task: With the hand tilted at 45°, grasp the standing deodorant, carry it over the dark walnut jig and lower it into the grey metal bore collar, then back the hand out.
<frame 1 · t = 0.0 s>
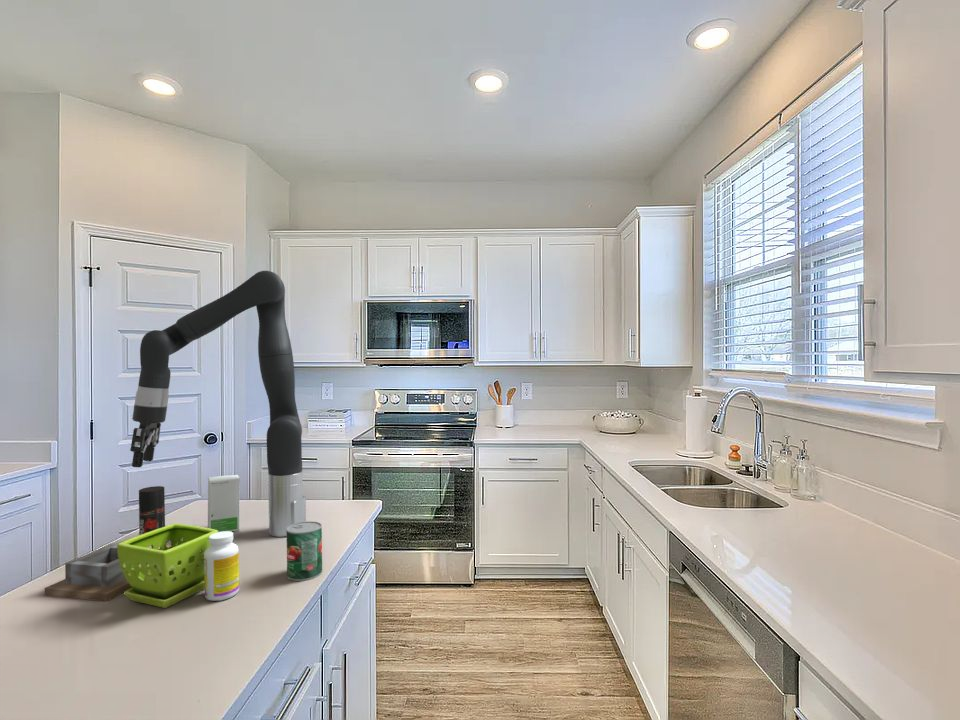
hand: (142, 463, 137), 22 cm above the counter, tool pointing down, fingers open, 8 cm apart
canned tomato: (304, 574, 119), on the counter
deodorant: (152, 544, 139), on the counter
skincare box: (224, 530, 150), on the counter
flower pot: (170, 595, 109), on the counter
jig: (121, 575, 119), on the counter
supplement bottle: (222, 595, 109), on the counter
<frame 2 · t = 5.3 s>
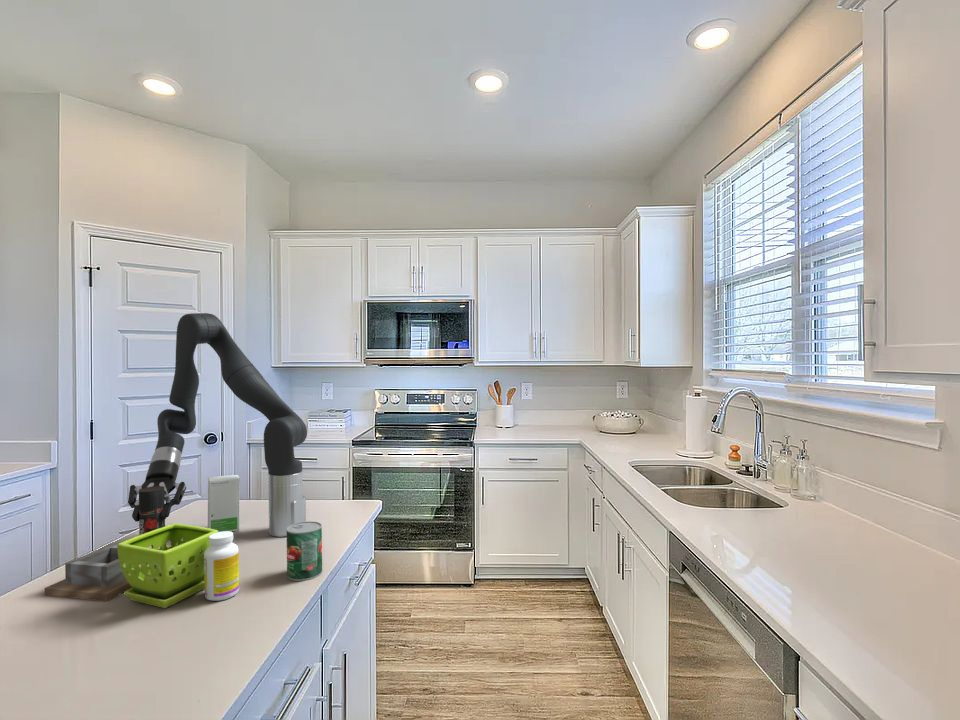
hand: (149, 518, 138), 7 cm above the counter, tool tilted 45°, fingers closed on deodorant, 6 cm apart
deodorant: (152, 544, 139), on the counter, touching gripper
everything else where it was.
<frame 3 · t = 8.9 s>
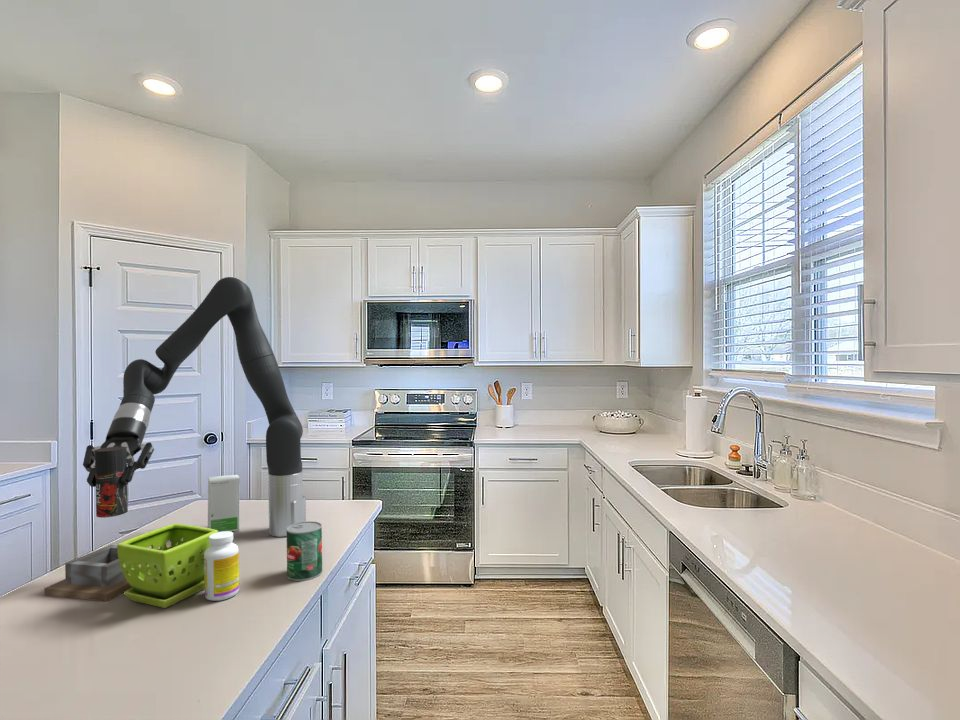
hand: (108, 483, 116), 22 cm above the counter, tool tilted 45°, fingers closed on deodorant, 6 cm apart
deodorant: (112, 514, 118), point 15 cm above the counter, touching gripper
everything else where it was.
when the fingers open (10 cm above the counter, at t = 12.6 s): deodorant drops 1 cm, resting on jig.
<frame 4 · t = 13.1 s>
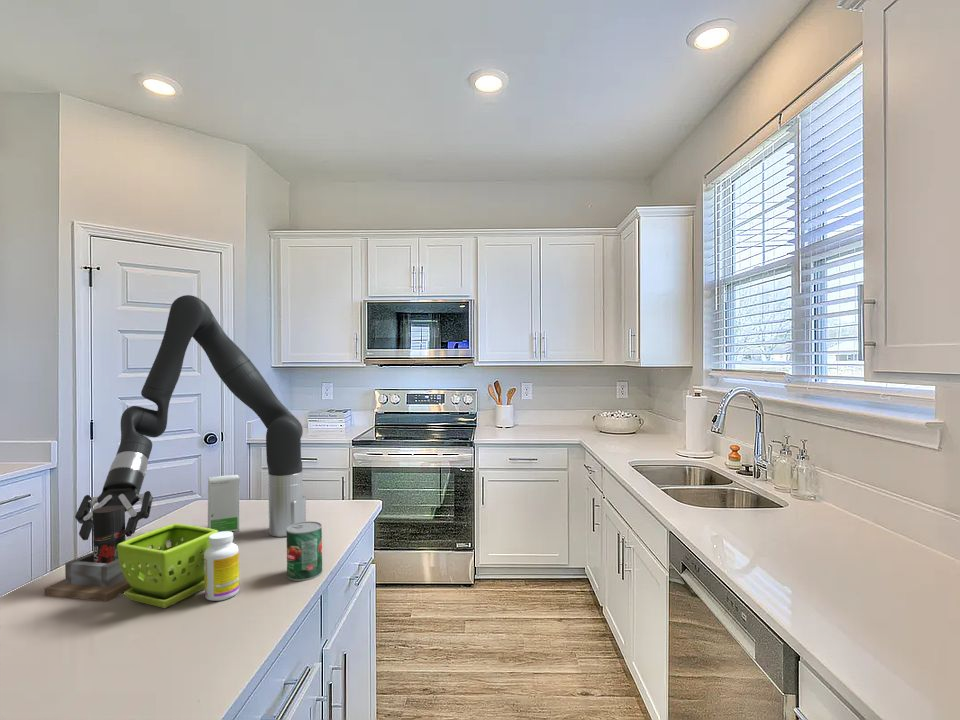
hand: (106, 536, 114), 11 cm above the counter, tool tilted 45°, fingers open, 8 cm apart
deodorant: (110, 575, 116), point 1 cm above the counter, touching jig
everything else where it was.
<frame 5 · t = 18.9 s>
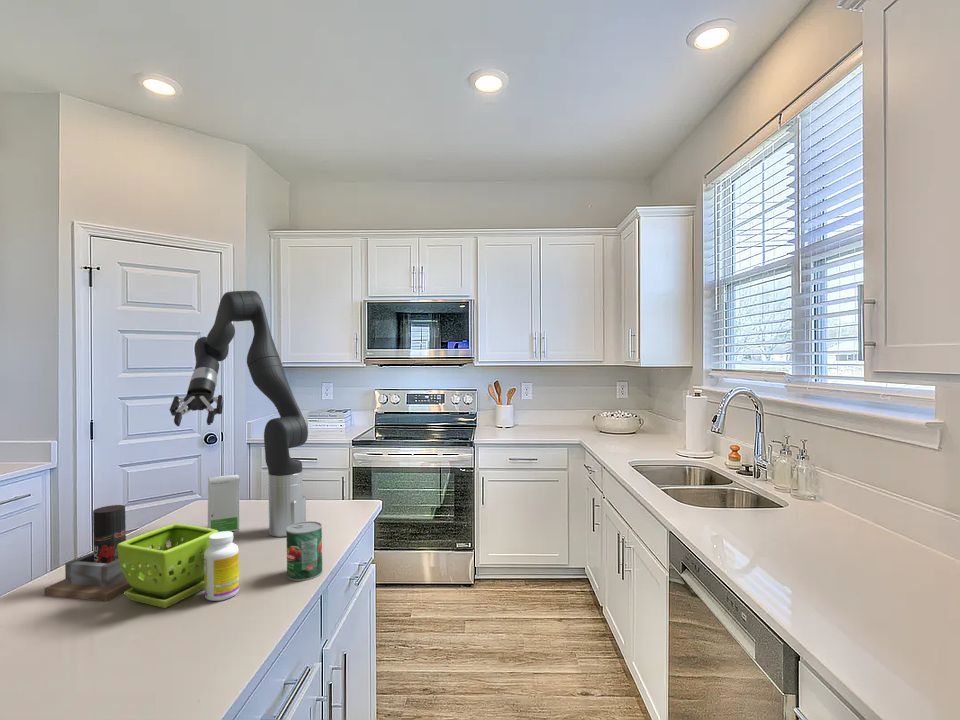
hand: (193, 424, 155), 31 cm above the counter, tool tilted 45°, fingers open, 8 cm apart
nothing on the counter moved.
at the end: deodorant 0.2 cm from the target spot on the jig, point 1.3 cm above the jig's base; deodorant tilted 0°; the gripper is holding nothing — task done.
